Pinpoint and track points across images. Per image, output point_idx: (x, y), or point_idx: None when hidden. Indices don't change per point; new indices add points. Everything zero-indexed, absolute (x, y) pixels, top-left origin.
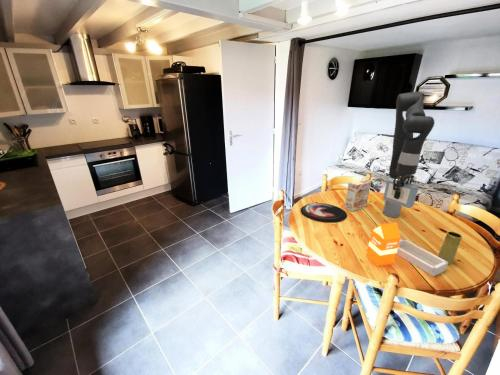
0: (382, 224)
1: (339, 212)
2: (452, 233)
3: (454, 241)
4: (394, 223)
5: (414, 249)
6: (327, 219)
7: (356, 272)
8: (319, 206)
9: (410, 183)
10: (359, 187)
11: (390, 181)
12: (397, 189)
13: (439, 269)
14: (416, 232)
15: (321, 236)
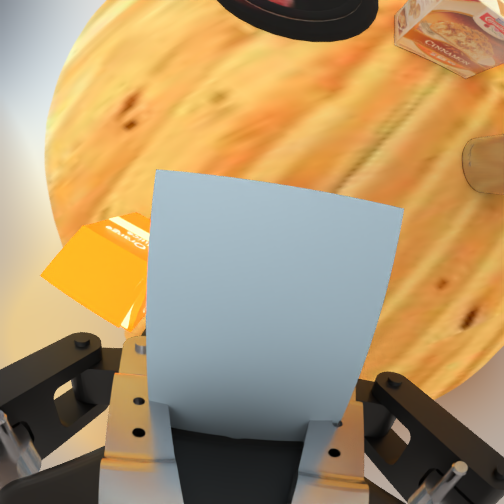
0: (50, 280)
1: (331, 9)
2: None
3: None
4: (107, 318)
5: None
6: (241, 3)
7: (58, 232)
8: None
9: (387, 463)
10: (467, 5)
11: (154, 261)
12: (66, 395)
13: None
14: (420, 273)
15: (127, 58)
